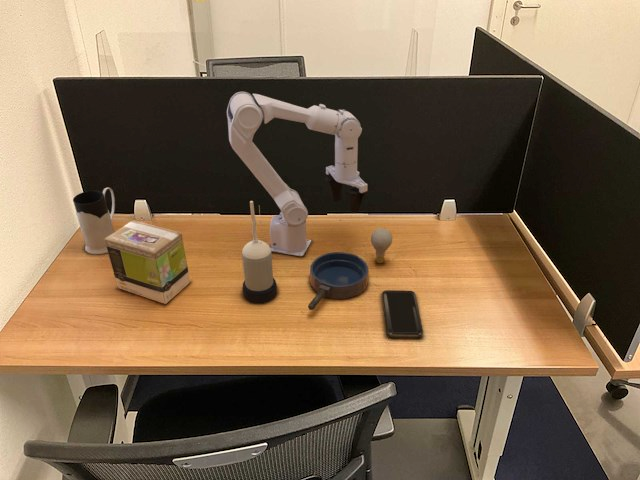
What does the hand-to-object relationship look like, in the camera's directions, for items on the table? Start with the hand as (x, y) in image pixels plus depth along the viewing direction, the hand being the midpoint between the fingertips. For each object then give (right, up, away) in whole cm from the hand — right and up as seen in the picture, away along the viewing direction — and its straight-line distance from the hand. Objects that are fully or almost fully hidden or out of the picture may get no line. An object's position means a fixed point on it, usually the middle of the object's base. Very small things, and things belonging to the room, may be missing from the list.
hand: (345, 206), depth 137 cm
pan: (-2, -19, -11) cm, 22 cm away
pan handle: (-7, -23, -20) cm, 31 cm away
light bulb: (+9, -15, -4) cm, 18 cm away
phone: (+12, -26, -21) cm, 36 cm away
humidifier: (-21, -22, -14) cm, 34 cm away
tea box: (-48, -20, -12) cm, 53 cm away
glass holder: (-66, -9, +6) cm, 67 cm away
